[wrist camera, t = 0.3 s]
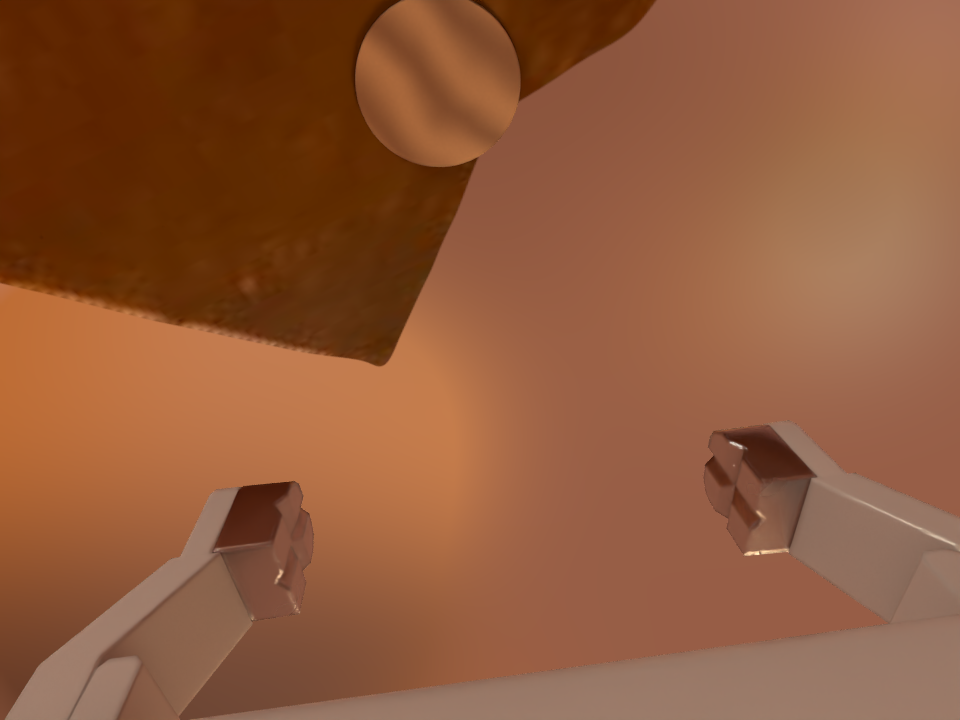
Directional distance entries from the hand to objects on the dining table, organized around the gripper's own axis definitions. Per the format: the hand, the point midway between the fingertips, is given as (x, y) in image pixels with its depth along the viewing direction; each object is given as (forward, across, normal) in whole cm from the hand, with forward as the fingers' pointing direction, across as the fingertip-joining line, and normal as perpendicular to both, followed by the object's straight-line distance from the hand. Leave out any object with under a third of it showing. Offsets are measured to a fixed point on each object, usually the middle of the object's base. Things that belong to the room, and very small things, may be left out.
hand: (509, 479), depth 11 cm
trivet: (+51, 0, -4) cm, 52 cm away
